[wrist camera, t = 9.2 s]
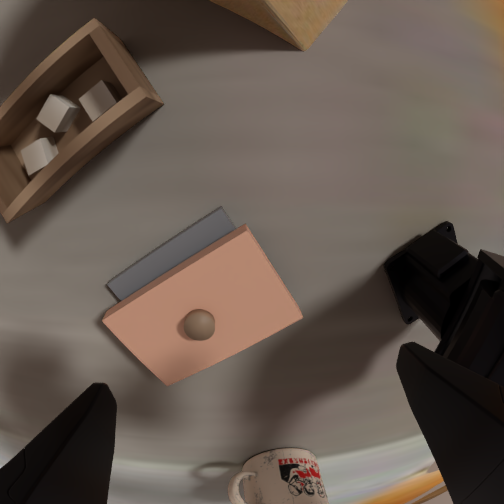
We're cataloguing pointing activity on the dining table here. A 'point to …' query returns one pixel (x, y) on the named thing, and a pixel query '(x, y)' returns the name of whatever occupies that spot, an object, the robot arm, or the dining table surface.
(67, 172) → the tea box
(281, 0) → the sandwich container
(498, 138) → the dining table surface
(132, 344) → the lid
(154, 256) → the coaster
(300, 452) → the white printed mug
